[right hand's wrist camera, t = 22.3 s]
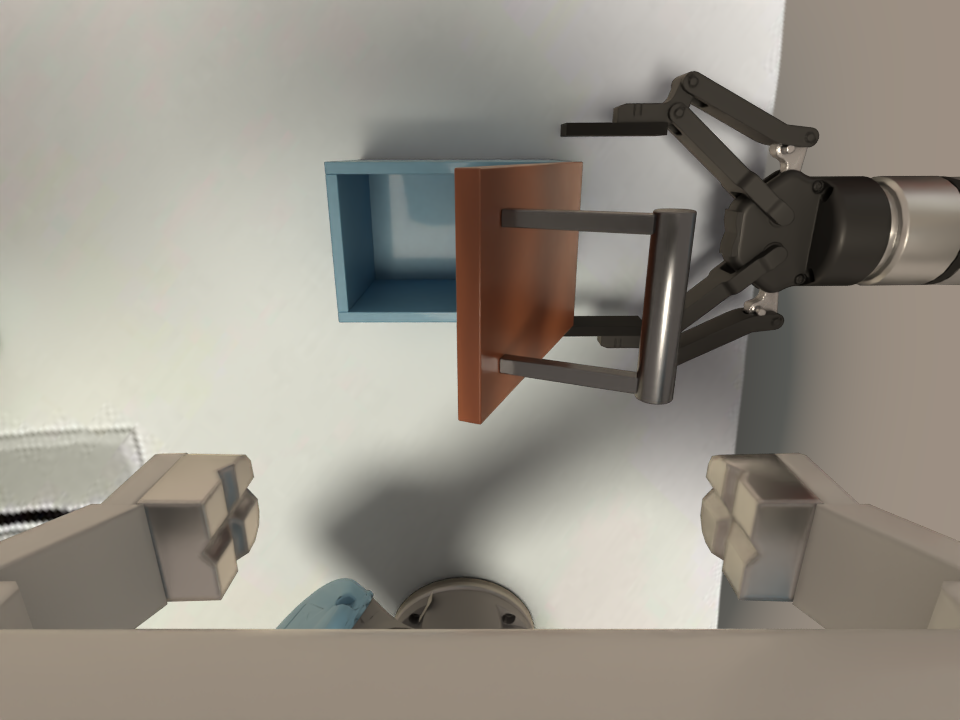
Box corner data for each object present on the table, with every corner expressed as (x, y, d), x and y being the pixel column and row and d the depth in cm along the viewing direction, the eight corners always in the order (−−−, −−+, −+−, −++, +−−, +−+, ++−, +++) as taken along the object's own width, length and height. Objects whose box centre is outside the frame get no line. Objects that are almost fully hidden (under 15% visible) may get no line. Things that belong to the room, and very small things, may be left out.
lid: (457, 420, 24) (662, 459, 20) (453, 167, 20) (698, 169, 17) (557, 323, 37) (690, 339, 34) (565, 161, 33) (714, 162, 30)
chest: (369, 285, 47) (338, 322, 37) (360, 159, 44) (323, 161, 34) (546, 285, 47) (564, 322, 37) (551, 159, 44) (572, 161, 34)
